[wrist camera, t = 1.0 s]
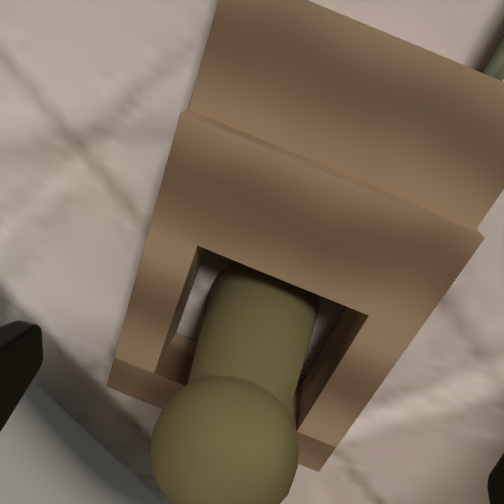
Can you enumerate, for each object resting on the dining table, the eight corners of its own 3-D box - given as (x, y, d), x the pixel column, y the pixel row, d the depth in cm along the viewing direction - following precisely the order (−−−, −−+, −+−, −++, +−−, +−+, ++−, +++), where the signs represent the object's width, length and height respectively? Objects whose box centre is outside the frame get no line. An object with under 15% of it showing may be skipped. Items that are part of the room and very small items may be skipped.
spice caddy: (320, 421, 26) (318, 471, 23) (133, 345, 26) (106, 386, 23) (760, -254, 12) (907, -358, 9) (360, -425, 12) (370, -589, 9)
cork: (314, 356, 24) (302, 567, 14) (210, 345, 25) (133, 535, 15) (322, 262, 21) (314, 441, 12) (206, 252, 22) (110, 412, 13)
